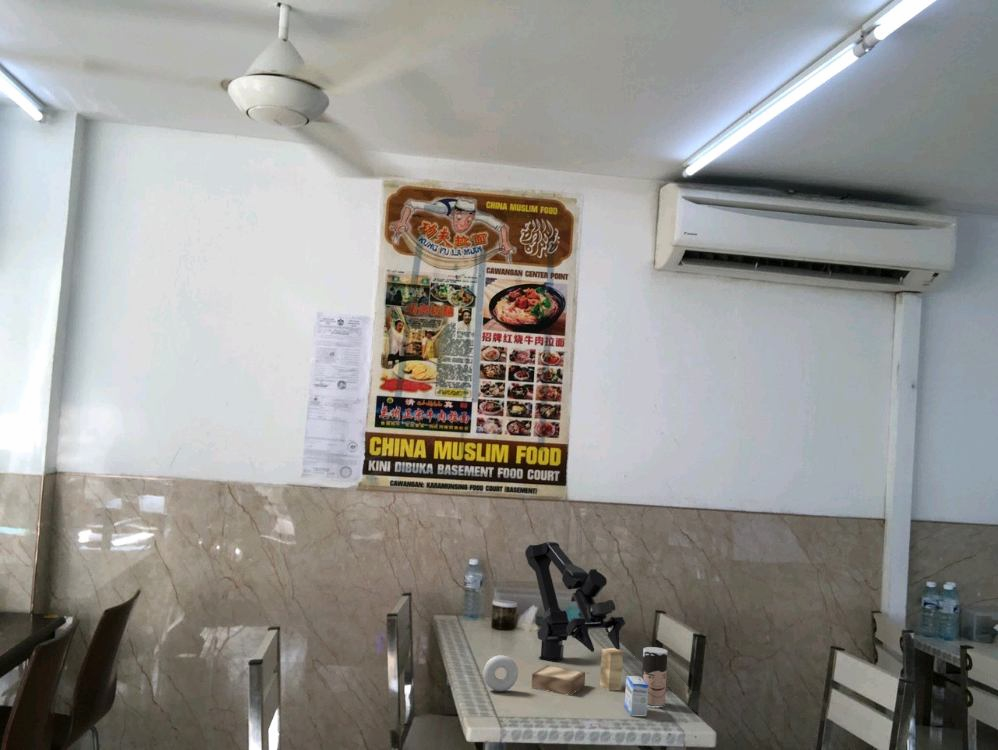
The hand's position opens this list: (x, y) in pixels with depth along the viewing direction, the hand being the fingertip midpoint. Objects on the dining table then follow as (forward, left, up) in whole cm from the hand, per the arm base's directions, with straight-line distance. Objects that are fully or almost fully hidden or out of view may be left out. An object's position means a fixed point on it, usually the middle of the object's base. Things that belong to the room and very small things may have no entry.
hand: (606, 650), depth 260 cm
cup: (+18, -10, -10) cm, 23 cm away
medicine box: (+16, -20, -10) cm, 27 cm away
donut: (-22, -26, -10) cm, 36 cm away
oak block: (+3, -2, -10) cm, 11 cm away
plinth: (-10, -11, -10) cm, 18 cm away
